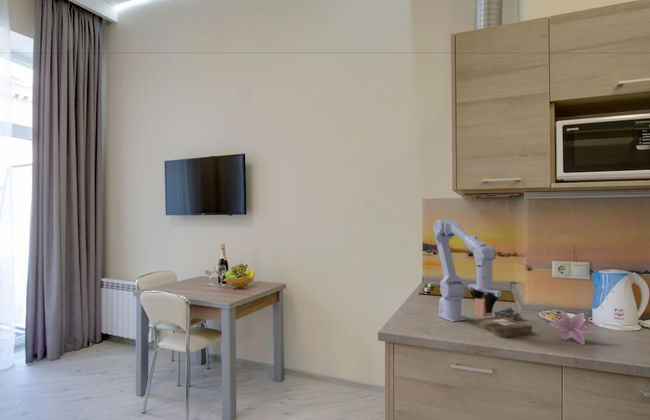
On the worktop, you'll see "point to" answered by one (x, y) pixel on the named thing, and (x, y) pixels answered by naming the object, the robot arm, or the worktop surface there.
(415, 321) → the worktop surface
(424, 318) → the worktop surface
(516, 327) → the walnut base
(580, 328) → the lily
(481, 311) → the terracotta block
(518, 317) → the egg carton
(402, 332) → the worktop surface
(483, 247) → the robot arm
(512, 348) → the worktop surface
